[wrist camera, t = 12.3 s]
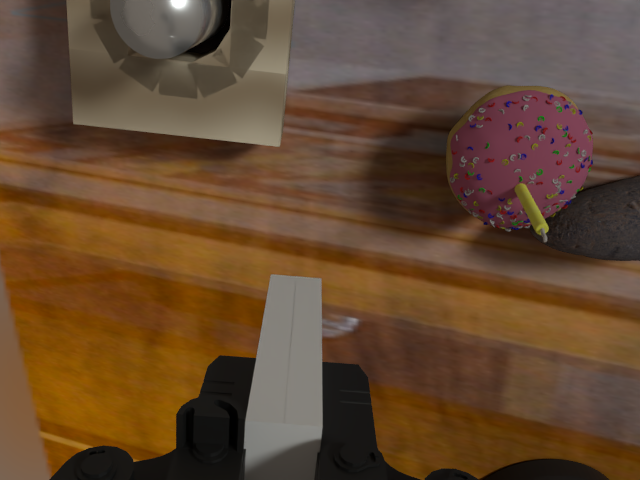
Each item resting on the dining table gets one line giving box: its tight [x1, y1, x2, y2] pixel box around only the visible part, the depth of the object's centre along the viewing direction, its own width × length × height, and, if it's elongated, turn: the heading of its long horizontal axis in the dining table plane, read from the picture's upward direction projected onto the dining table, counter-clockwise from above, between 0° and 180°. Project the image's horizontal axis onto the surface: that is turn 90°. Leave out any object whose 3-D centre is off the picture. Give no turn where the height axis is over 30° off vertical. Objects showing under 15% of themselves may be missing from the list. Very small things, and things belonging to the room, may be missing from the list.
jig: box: [66, 0, 295, 147], centre depth 33 cm, size 14×12×4 cm
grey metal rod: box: [110, 0, 229, 59], centre depth 31 cm, size 4×4×10 cm
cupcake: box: [446, 86, 593, 242], centre depth 33 cm, size 9×8×12 cm
